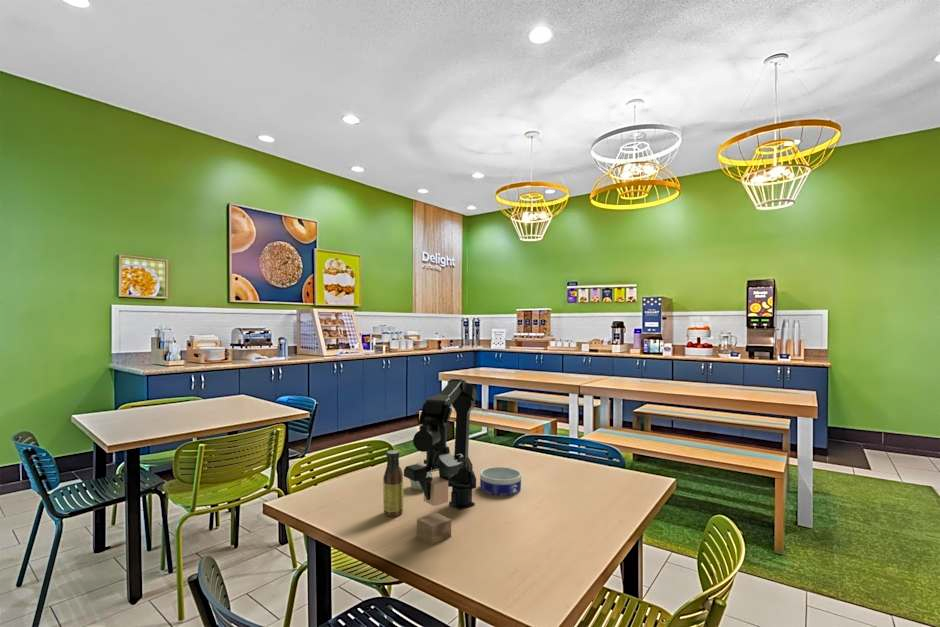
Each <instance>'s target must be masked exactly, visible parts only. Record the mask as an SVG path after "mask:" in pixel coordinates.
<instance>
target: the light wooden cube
mask: <svg viewBox="0 0 940 627" xmlns="http://www.w3.org/2000/svg"><path fill="white" fill-rule="evenodd" d="M432 478H433V480H432V481H431V483H430V500H427V499H426V497H425V494H424V493H423V502H425V503H427V504H428V505H431V506H433V507H436V506H438V505H442V504H446V503H449V487H448V480H445V479H443V478H441V477H439V476H434V477H432Z"/></svg>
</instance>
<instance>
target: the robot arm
mask: <svg viewBox="0 0 940 627" xmlns="http://www.w3.org/2000/svg"><path fill="white" fill-rule="evenodd" d="M477 399H478V391H477V389H476V388H475V386H473V385H472V384H470V383H468V382H467V381H466V380H465V379H462V378H451V379H449V380H448V383H447V384H446V385H445V387H444V388H443V389H442V390H441V391H440V392H439V394H437V395H434V396H430V397H428V398H427V399H426V400H425V402H424V403H423V405H422V407H421V412H420V416H419V419H418V423H417V424H418V425H420V426H419V430H418V431H417V432H415V434H414V436H413V438H412V444H413V446H414V448H415V449H416V450H417V451H419V452H421V453H426V458H425V459H423V463H424V464H426V466H424V467H422V466H420V465H417V464H416V463H414V464H410V465H406V466H405V467H404V469H403V477H404V478H406V479H409V480H410V479H411V480H413V481H419V483H420V485H421V487H422V492H423V495H424V494H425V497H426V499H427V500H430V483H431V481H432V480H433V477H432V478H431V477H430V472H431V473H433V472H437V471H438V475H439V476H438V477H441V478H443V479H445V480H448V488H451V493H450V494H451V495H450V498H451V499H450V501H448V504H449V505H451V506H453V507H455V508H458V510H464V509H466V508H469V507H473V506H475V505H476V503H475V502H473V489H476V488H477V477H476V474H475V472H474V470H473V463H472V461H471V459H470V457H469V442H470V422H471V421H470V418H471V416H470V415H471V412H472V410H473V409H474V407H475V405H476V401H477ZM452 408H453V409H452ZM453 410H454V411H455V429H454V430H455V432H454V433H455V434H454V452H453V453H454V454H451V452H450V451H451V450H450V447H449V446H447V425H448V424H449V421H450V418H451V415H452V412H453Z"/></svg>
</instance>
